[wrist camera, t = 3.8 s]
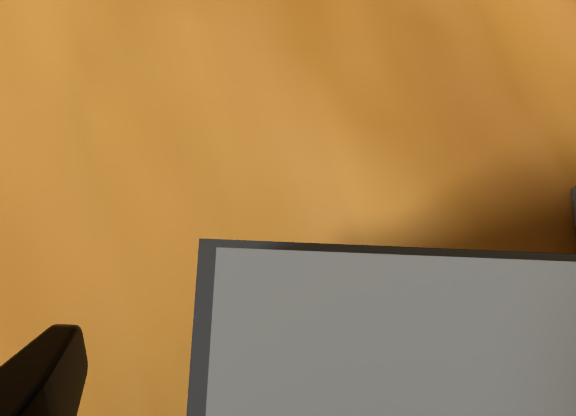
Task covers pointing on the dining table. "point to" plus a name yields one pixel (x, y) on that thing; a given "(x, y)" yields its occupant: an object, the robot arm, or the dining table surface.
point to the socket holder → (574, 203)
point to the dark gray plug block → (381, 331)
